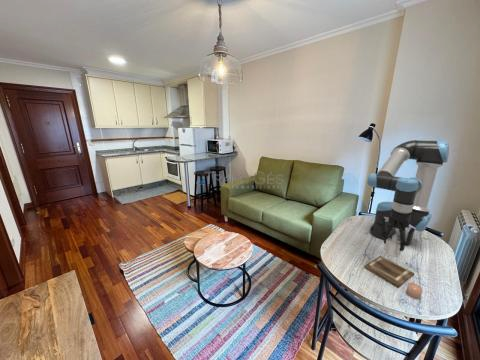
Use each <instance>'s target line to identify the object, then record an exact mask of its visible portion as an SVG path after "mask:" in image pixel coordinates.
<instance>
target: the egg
mask: <svg viewBox="0 0 480 360" xmlns="http://www.w3.org/2000/svg"><path fill="white" fill-rule="evenodd" d="M405 293H406V294H407V295H408V296H409V297H410V298H413V299H416V300H417V299H418V300H419V299H421V297H422V293H423V288H422V287H421V286H420V285H419V284H416V283H414V282H408V283H407V286H406V291H405Z"/></svg>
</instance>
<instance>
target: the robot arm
mask: <svg viewBox="0 0 480 360" xmlns="http://www.w3.org/2000/svg"><path fill="white" fill-rule="evenodd" d="M449 154H450V145H449V142H448V141H442V140H419V139H417V140H408V141H404V142H402V143H400V144H398V145H397V146H395V147H394V148H393V149H392V150H391V152H390V156H389V157H388V159H386V161H385V163H384V164H383V165H382V166H381V168H380V169H379V170H378V172H377V173H376V172H374V173H373V172H372V173H370V174H369V175H368V177H367V186H368V187H372V188H375V189H380V190H381V189H382V190H387V191H393V192H394V194H393V195H394V196H393V200H392V201H380V202H379V203H377V205H376V206H377V207H376V209H375V214H374V215H375V216H374V222H373V223H372V225H371V226H370V228H369V233H370V234H371V236H373V237H374V238H377V239H380V240H383V244H384V250H383V251H385V250H386V246H387V241H388V240H391V239H392V236H393V235H395V234H397V235H398V233H397V229H398V232H399V241H400V244H398V248H397V253H396V258H397V257H398V258H399V256H401V253H402V252H404V250H405V247H409V246H411V245H412V240H413V237H414V233H415V231H416V232H424V231H425V230H426V229H427V227H428V225H429V223H430V221H431V218H432V214H430V210H429V209H428V204H429V201H430V198H431V194H432V190H433V186H434V183H435V179H436V176H437V172H438V169H439V168H440V167H442V166H444V163H448V160H449ZM408 160H415V163H416V165H417V170H416V173H415V176H414V177H402V176H395V175H397V173H398V171H399V170H400V169H401V167H402V166H403V164H404V162H406V161H408ZM406 229H408V233H407V236H406Z"/></svg>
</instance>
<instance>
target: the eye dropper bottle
mask: <svg viewBox="0 0 480 360" xmlns="http://www.w3.org/2000/svg"><path fill="white" fill-rule="evenodd" d="M399 239H400V236H398V233H397V234H395V235H393V236H392V239H391V240H388V241H387V246H386V250H384V254H385V255H386V256H388V257H391V258H392V257H396V258H397V256H396V253H397V248H398V244H400V240H399Z"/></svg>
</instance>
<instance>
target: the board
mask: <svg viewBox="0 0 480 360" xmlns="http://www.w3.org/2000/svg"><path fill="white" fill-rule="evenodd" d="M363 269H365V270H367V271H369V272H370V273H372V274H374V275H375V276H377V277H379V278H381V279H382V280H383V281H385V282H387V283H389V284H390V285H392V286H394V287H396V288H397V289H399V288H400V287H402V286H403V285H404V284H405V283H406V282H408V281H409V280H411V278H413V277H414V276H415V272H413V271H411V270H410V269H408V268H405V267H404V266H402V265H400V264H398V263H396V262H394V261H393V260H391V259H388V258H387V257H384V256H383V255H379V256H378V257H376V258H374V259H372V260H371V261H370V262H367V263H366V264H365V265H364V266H363Z"/></svg>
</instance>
